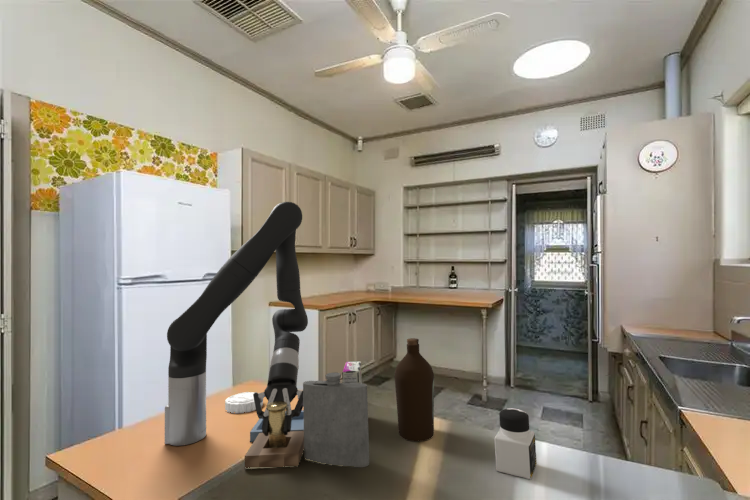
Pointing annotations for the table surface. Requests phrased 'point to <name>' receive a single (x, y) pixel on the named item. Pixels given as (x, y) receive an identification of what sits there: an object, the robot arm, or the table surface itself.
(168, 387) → the robot arm
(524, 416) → the medicine bottle
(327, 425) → the hip flask
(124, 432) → the table surface
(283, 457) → the walnut pin block
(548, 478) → the table surface
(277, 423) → the brass pin
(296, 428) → the slate tray
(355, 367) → the candy bar box
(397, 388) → the olive oil
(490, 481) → the table surface
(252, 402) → the mooncake
